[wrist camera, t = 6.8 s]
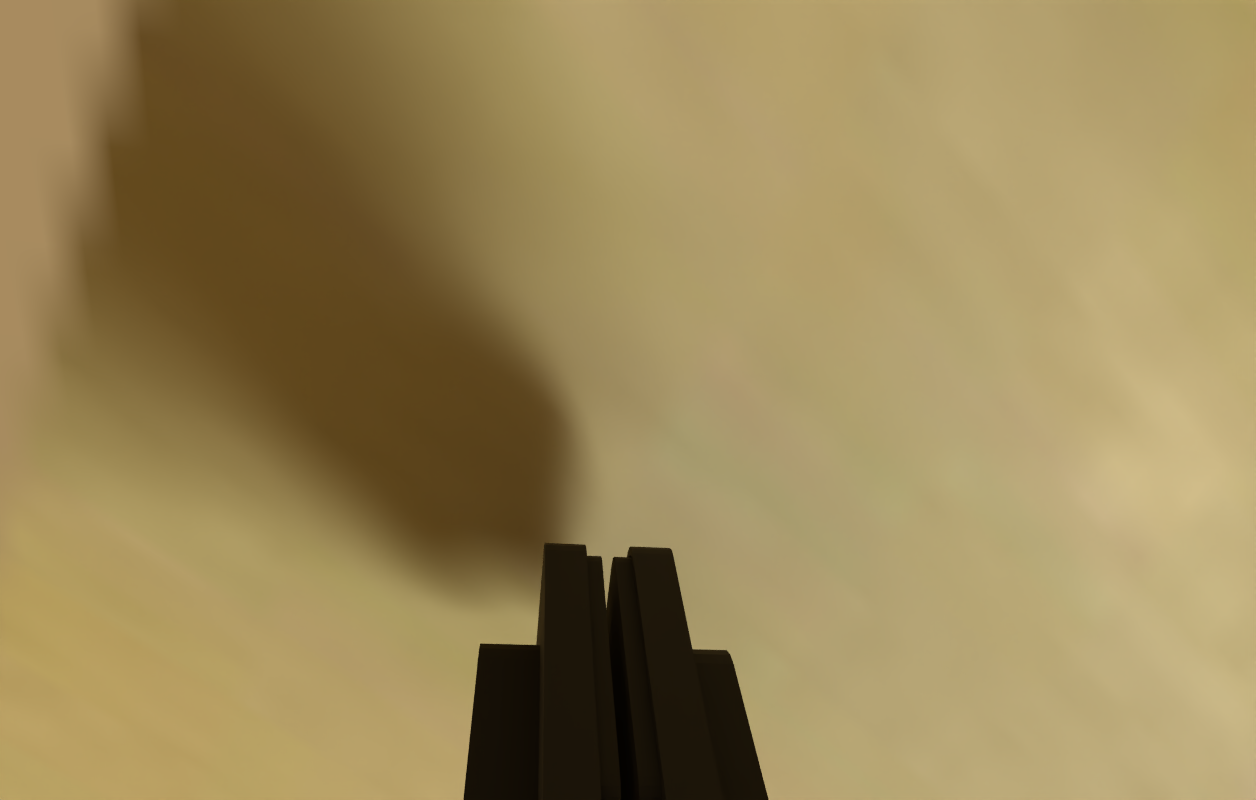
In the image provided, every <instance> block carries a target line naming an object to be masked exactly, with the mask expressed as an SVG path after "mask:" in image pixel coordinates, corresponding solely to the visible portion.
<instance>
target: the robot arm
mask: <svg viewBox="0 0 1256 800" xmlns="http://www.w3.org/2000/svg"><path fill="white" fill-rule="evenodd" d="M464 800H768V796H767V792H766V788H765V784H764V781H763V777H762V773H761V769H760V765H759V761H758V757H757V753H756V749H755V746H754V742H753V738H752V734H751V730H750V726H749V722H748V718H747V715H746V711H745V707H744V703H743V699H742V695H741V691H740V687H739V684H738V680H737V676H736V672H735V668H734V664H733V661H732V658H731V656H730V654H729V653H728V651H727V650H695V649H692V645H691V641H690V636H689V631H688V626H687V621H686V616H685V611H684V606H683V601H682V596H681V592H680V587H679V582H678V577H677V572H676V567H675V562H674V557H673V553H672V550H671V549H670V548H652V547H630V548H629V550H628V554H627V557H614V558H613V561H612V567H611V575H610V583H609V592H608V600H607V608H606V602H605V590H604V578H603V566H602V558H601V556H587V551H586V545H578V544H554V543H545V545H544V555H543V567H542V580H541V593H540V606H539V618H538V631H537V644H536V645H511V644H480V648H479V656H478V665H477V675H476V685H475V694H474V704H473V714H472V723H471V733H470V742H469V752H468V762H467V771H466V781H465V791H464Z"/></svg>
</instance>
